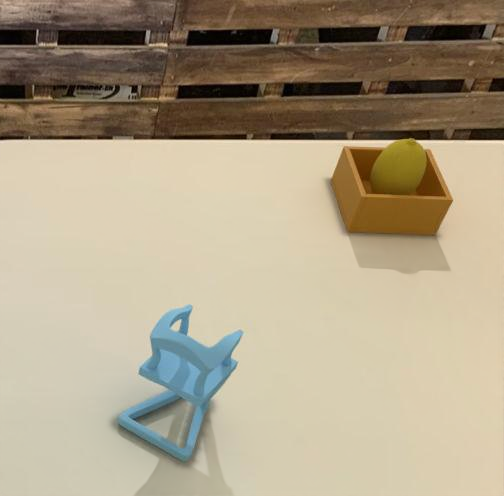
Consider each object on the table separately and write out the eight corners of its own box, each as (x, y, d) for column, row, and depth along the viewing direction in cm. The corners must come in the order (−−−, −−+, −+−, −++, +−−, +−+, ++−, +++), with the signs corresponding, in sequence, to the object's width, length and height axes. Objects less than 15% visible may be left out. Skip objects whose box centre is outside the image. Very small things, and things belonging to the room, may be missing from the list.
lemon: (375, 183, 109) (402, 120, 102) (416, 203, 107) (447, 140, 100) (351, 202, 107) (377, 138, 100) (392, 222, 104) (422, 159, 98)
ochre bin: (413, 184, 110) (430, 149, 106) (435, 235, 104) (453, 200, 100) (330, 180, 110) (343, 145, 106) (347, 231, 104) (361, 196, 101)
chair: (230, 413, 87) (265, 317, 77) (185, 463, 83) (216, 368, 74) (162, 377, 90) (188, 279, 80) (116, 423, 86) (137, 327, 76)
